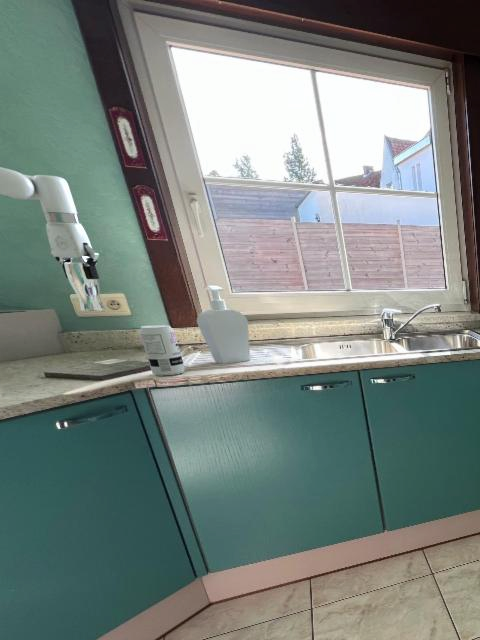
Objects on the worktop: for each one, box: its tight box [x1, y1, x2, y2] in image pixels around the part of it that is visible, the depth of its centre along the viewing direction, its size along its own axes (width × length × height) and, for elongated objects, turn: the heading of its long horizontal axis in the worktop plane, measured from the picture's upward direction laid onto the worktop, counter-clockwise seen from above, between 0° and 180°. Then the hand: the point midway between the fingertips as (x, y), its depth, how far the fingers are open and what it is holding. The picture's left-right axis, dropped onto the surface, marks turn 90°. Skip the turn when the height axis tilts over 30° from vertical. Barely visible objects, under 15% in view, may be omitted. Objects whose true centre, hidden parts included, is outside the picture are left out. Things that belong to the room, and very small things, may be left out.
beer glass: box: [64, 261, 107, 312], centre depth 163 cm, size 7×7×15 cm
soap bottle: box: [196, 285, 251, 365], centre depth 173 cm, size 12×10×26 cm
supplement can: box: [139, 324, 186, 376], centre depth 155 cm, size 8×8×15 cm
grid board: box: [43, 358, 152, 381], centre depth 158 cm, size 20×20×2 cm
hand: (82, 278), depth 162 cm, fingers closed on beer glass, 7 cm apart
